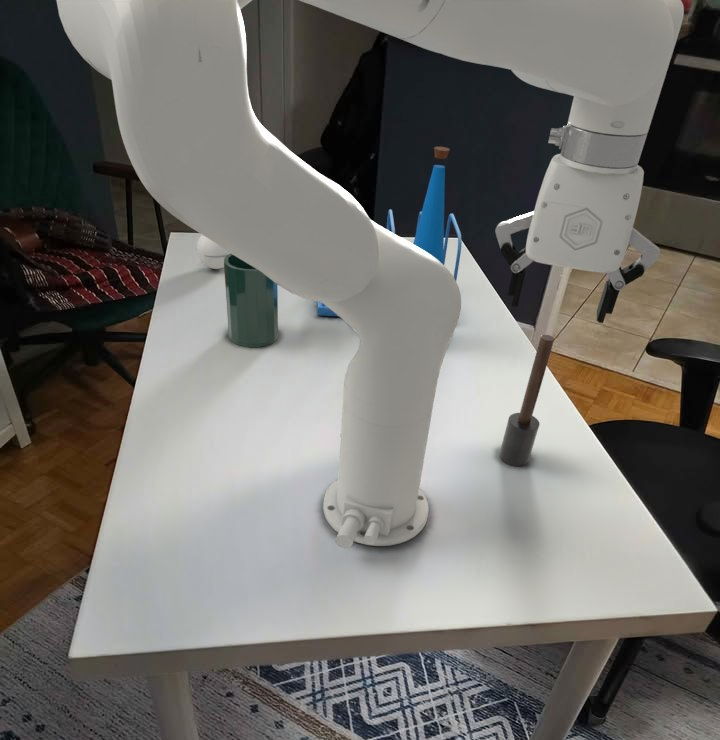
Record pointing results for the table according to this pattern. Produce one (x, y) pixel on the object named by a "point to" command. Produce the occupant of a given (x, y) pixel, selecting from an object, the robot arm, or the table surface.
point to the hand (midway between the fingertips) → (556, 310)
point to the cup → (250, 304)
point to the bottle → (433, 211)
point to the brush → (526, 412)
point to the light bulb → (211, 253)
